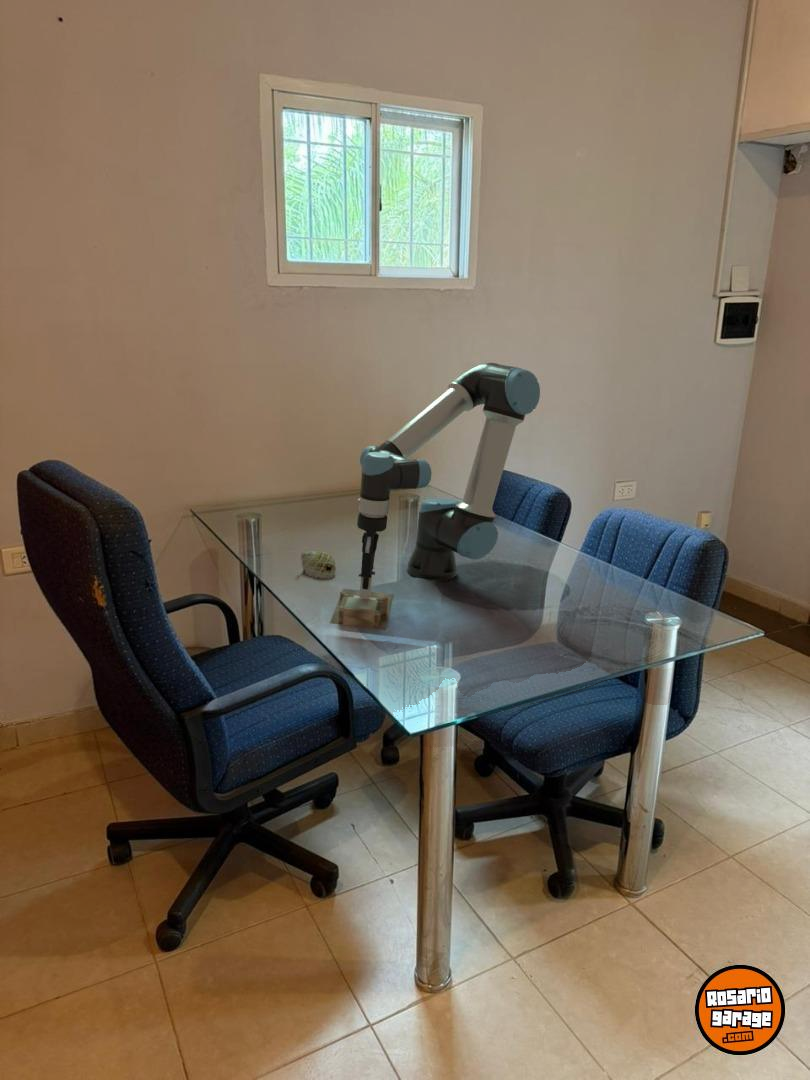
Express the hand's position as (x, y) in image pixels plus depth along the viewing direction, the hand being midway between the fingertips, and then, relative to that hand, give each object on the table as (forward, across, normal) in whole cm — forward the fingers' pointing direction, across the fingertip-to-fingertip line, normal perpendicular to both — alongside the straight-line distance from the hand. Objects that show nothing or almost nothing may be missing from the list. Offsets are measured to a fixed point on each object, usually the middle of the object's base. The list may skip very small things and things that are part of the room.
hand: (364, 598), depth 198 cm
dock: (+2, +4, 0) cm, 4 cm away
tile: (+1, +6, 0) cm, 6 cm away
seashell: (+3, -18, -16) cm, 24 cm away
